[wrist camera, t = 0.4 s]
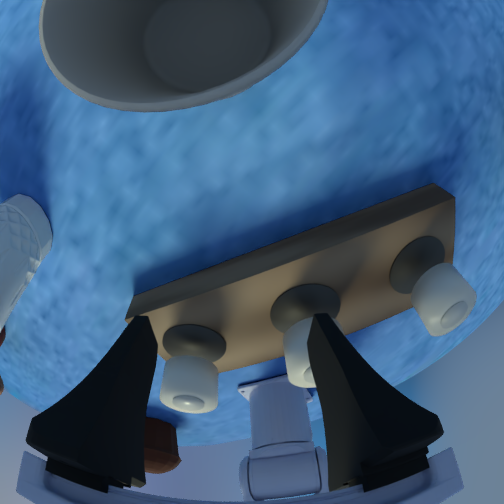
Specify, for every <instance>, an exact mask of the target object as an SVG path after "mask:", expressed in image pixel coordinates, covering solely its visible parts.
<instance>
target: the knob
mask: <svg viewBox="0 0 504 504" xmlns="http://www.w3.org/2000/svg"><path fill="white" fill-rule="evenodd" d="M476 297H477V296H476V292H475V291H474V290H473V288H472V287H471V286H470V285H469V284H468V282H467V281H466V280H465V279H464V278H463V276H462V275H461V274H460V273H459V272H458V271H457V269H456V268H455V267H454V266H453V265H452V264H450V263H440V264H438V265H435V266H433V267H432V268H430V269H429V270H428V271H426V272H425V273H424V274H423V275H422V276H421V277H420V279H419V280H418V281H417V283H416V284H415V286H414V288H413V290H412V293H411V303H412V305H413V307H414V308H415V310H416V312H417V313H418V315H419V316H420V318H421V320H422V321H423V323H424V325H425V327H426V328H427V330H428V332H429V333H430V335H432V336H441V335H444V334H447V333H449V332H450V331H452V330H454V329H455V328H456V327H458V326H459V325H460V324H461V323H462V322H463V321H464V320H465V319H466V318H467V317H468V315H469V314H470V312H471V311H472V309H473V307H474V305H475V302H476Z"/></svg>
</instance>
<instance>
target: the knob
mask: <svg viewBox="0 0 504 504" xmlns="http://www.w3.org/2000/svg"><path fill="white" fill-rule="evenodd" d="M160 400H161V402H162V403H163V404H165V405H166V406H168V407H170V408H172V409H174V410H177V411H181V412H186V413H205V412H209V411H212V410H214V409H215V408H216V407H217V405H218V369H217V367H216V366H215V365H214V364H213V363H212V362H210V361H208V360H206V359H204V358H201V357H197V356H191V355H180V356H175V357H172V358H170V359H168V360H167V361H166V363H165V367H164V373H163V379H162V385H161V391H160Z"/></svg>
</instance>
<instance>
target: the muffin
mask: <svg viewBox="0 0 504 504" xmlns="http://www.w3.org/2000/svg"><path fill="white" fill-rule="evenodd" d="M180 462H181V459H180V457H179V454H178V445H177V436H176V428H174V427H173V426H172V425H171V424H170V423H167V422H164V421H162V420H159V419H156V418H149V417H146V418H145V434H144V465H145V472H148V473H155V474H156V473H157V474H159V473H165V472H168V471H171V470H173V469H174V468H175V467H177V466H178V465H179V463H180Z"/></svg>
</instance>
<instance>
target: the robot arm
mask: <svg viewBox="0 0 504 504" xmlns="http://www.w3.org/2000/svg"><path fill="white" fill-rule="evenodd" d="M307 349H308V356H309V362H310V366H311V370H312V374H313V378H314V381H315V385H316V389H317V392H318V396H319V400H320V404H321V408H322V414H323V421H324V428H325V436H326V446H327V455H326V452H325V450H324V449H322V448H321V447H320V446H318V447H316V448H314V443H313V441H312V430H311V425H310V419H309V414H308V408H307V403H308V402H311V401H313V398H312V396H311V395H310V393H309V392H308V390H307V388H304V387H298V386H295V385H293V384H292V383H291V382H290V381H289V379H288V374H286V375H283V376H279V377H276V378H272V379H268V380H264V381H260V382H256V383H252V384H247V385H243V386H239V387H238V388H237V390H238V391H239V392H240V393H241V394H242V395H243V396H244V397H245V398H246V399H247V400H248V401H249V402H250V420H251V437H252V450H249V456H246V457H245V458H244V459H243V460H242V461H241V463H240V467H239V481H240V488H241V492H242V494H243V498H244V502H216V501H197V500H187V499H177V498H170V497H162V496H156V495H150V494H145V493H140V492H135V491H130V490H126V489H123V486H125V487H129V488H130V487H131V486H135V487H139V488H140V487H142V486H144V485H145V484H146V479H145V465H144V434H145V418H146V410H147V404H148V399H149V394H150V390H151V385H152V381H153V376H154V372H155V367H156V361H157V352H158V343H157V340H156V337H155V334H154V332H153V329H152V326H151V323H150V320H149V317H148V316H141V315H135V316H134V318H133V319H132V320H131V322H130V323H129V324H128V326H127V327H126V328H125V330H124V331H123V333H122V334H121V335H120V337H119V338H118V339H117V341H116V342H115V343H114V345H113V346H112V347H111V348H110V350H109V351H108V352H107V354H106V355H105V356H104V357H103V358H102V360H101V361H100V362H99V363H98V364H97V366H96V367H95V368H94V369H93V370H92V371H91V372H90V373H89V374H88V375H87V376H86V377H85V378H84V379H83V380H82V381H81V382H80V383H79V384H78V385H77V386H76V387H75V388H74V389H73V390H72V391H71V392H69V393H68V394H67V395H66V396H65V397H63V398H62V399H61V400H59V401H58V402H57V403H55V404H54V405H53V406H51V407H50V408H48V409H47V410H45V411H43V412H42V413H40V414H38V415H37V416H35V417H33V418H32V421H31V423H30V427H29V430H28V434H27V437H26V442H27V444H28V445H30V446H31V447H33V448H34V449H36V450H37V451H39V452H41V453H42V454H44V455H45V456H47V457H48V459H47V461H45V460H43V459H41V458H39V457H37V456H35V455H33V454H31V453H29V452H26V451H24V453H23V458H22V462H21V466H20V471H19V477H18V482H17V489H16V491H17V493H19V494H20V495H22V496H24V497H25V498H27V499H29V500H30V501H32V502H33V503H35V504H439V503H441V502H443V501H444V500H446V499H447V498H449V497H451V496H453V495H454V494H456V493H457V492H459V491H461V490H462V489H463V488H464V485H463V481H462V478H461V474H460V471H459V468H458V464H457V461H456V459H455V455H454V452H453V449H452V448H451V447H450V448H448V449H446V450H444V451H442V452H440V453H438V454H436V455H434V456H432V457H430V458H428V459H427V457H426V454H427V453H428V452H429V451H428V448H427V446H428V445H430V444H431V443H433V442H434V441H436V440H437V439H438V438H440V437H441V436H442V435H443V433H444V431H443V428H442V425H441V423H440V420H439V418H438V416H437V415H436V414H434V413H432V412H430V411H428V410H426V409H425V408H423V407H421V406H419V405H417V404H416V403H415V402H413V401H411V400H410V399H408V398H407V397H406V396H404V395H403V394H402V393H400V392H399V391H398V390H396V389H395V388H394V387H392V386H391V385H390V384H389V383H388V382H387V381H386V380H384V379H383V378H382V377H381V376H380V375H379V374H378V373H377V372H376V371H375V370H374V369H373V368H372V367H371V366H370V365H369V364H368V363H367V362H366V361H365V360H364V359H363V357H362V356H361V355H360V354H359V353H358V352H357V351H356V349H355V348H354V347H353V346H352V344H351V343H350V342H349V341H348V340H347V338H346V337H345V336H344V334H343V333H342V332H341V330H340V329H339V328H338V326H337V325H336V324H335V322H334V321H333V320H332V318H331V317H330V315H329V314H328V313H317V314H314V315H313V319H312V324H311V328H310V332H309V336H308V340H307ZM311 493H315V494H314V495H311V496H304V497H297V498H289V499H281V500H280V499H279V500H268V501H264V500H265V499H276V498H285V497H293V496H300V495H306V494H311Z"/></svg>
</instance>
